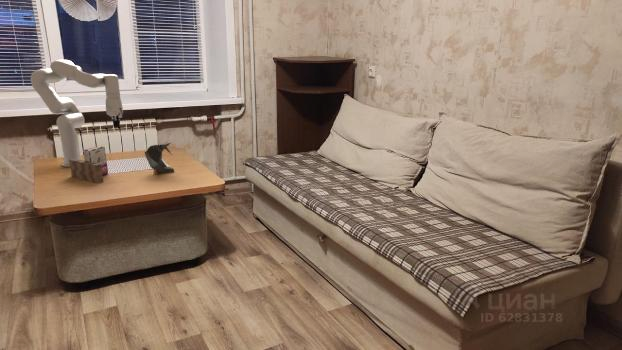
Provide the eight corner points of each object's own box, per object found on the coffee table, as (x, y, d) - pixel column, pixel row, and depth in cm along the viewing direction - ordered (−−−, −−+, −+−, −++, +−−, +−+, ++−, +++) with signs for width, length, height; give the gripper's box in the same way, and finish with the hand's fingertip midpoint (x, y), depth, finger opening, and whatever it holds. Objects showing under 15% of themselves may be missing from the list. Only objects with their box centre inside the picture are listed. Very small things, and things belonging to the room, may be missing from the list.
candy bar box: (102, 172, 260) (98, 145, 256) (108, 173, 258) (105, 146, 254) (86, 178, 250) (82, 149, 246) (93, 179, 248) (89, 150, 244)
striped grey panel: (71, 176, 252) (69, 159, 250) (76, 175, 255) (74, 158, 252) (98, 183, 241) (95, 165, 238) (103, 181, 243) (100, 164, 241)
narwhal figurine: (146, 170, 266) (143, 141, 261) (173, 168, 271) (170, 139, 266) (146, 176, 253) (143, 146, 248) (174, 174, 258) (172, 144, 253)
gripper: (99, 95, 262) (103, 126, 267) (115, 97, 254) (119, 128, 260) (110, 94, 268) (114, 124, 273) (127, 96, 261) (130, 127, 266)
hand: (116, 126), depth 266 cm, fingers closed
